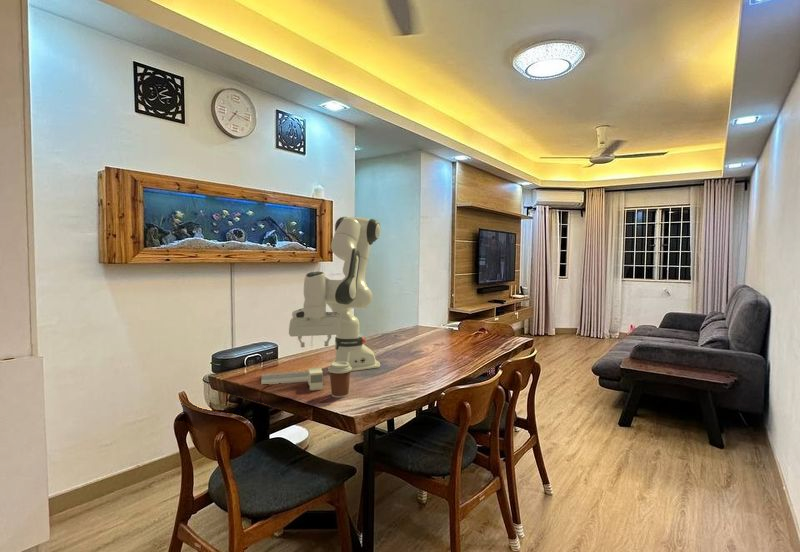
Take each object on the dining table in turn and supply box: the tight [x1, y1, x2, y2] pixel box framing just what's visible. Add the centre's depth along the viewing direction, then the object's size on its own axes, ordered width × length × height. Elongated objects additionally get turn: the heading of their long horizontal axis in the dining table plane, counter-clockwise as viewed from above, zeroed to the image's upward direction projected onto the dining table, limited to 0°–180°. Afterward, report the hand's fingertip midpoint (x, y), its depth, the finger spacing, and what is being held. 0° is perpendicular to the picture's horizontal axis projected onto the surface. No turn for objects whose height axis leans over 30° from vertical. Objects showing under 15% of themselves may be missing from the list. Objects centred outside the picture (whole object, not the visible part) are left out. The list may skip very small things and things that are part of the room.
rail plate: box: [260, 370, 308, 386], centre depth 180 cm, size 20×12×2 cm, turn 107°
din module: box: [307, 366, 324, 391], centre depth 169 cm, size 5×9×7 cm, turn 17°
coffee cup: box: [327, 361, 353, 399], centre depth 159 cm, size 9×9×12 cm
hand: (314, 346), depth 169 cm, fingers open, 8 cm apart
